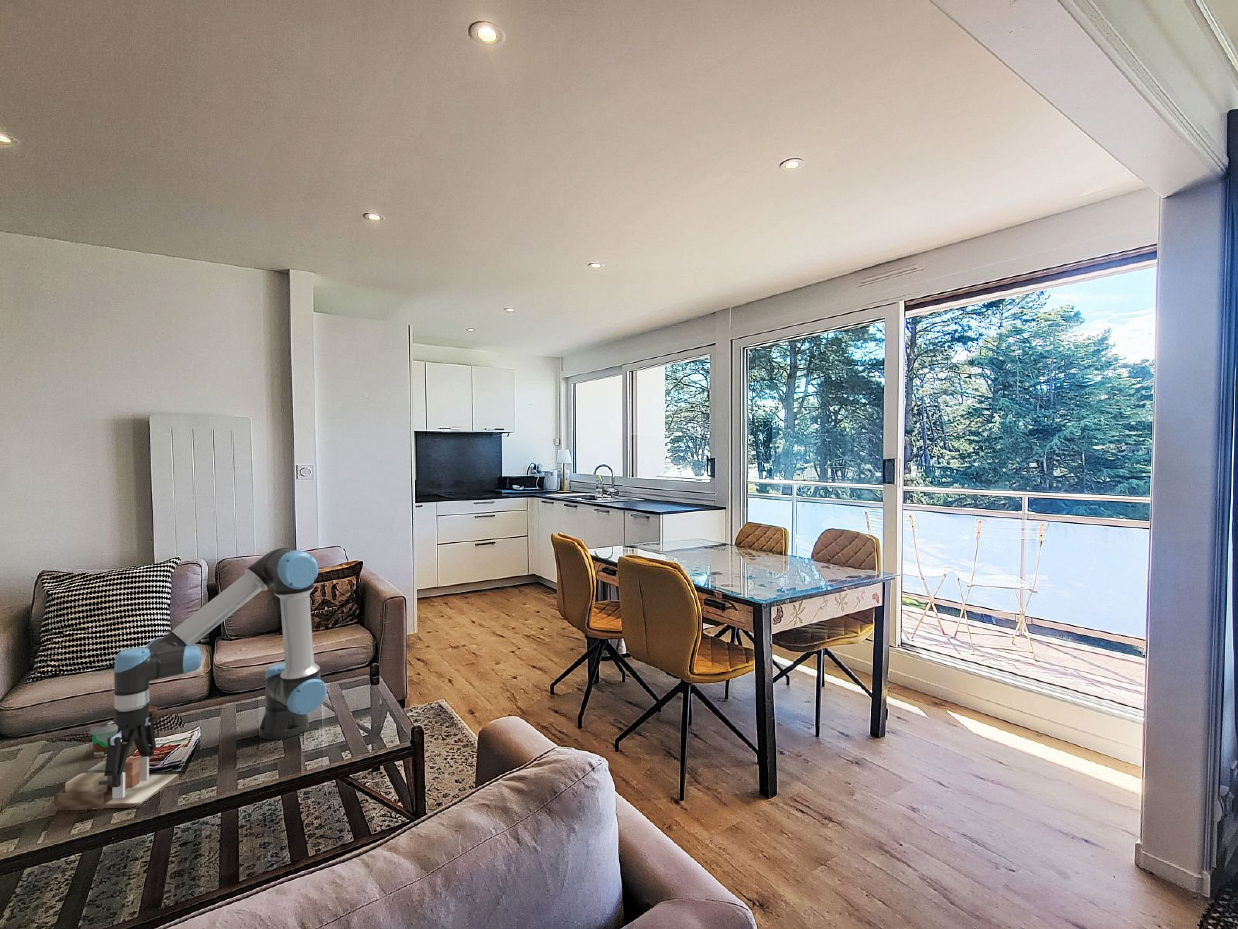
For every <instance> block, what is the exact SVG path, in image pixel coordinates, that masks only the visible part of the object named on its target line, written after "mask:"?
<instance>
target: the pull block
mask: <svg viewBox="0 0 1238 929" xmlns="http://www.w3.org/2000/svg"><path fill="white" fill-rule="evenodd" d="M139 763H140V758H138V757H137V758H136V757H131V758H128V759H126V762H125V765H124V769H123V772H125V788H133V787H135V786H136V785H137V784H139ZM107 785H112V780H107V776H104V773H88V772H81V773H79V774H77V775H76V776H74V777H72V778H70V779H69V780H68V781H66V782H65V783H64V786H65V787H64V788H65V793H67V792H106V791H107Z"/></svg>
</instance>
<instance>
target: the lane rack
mask: <svg viewBox="0 0 1238 929" xmlns="http://www.w3.org/2000/svg"><path fill="white" fill-rule="evenodd" d="M105 766H106V760H104V761H100V762H99V763H97V764H95V765H94V766H93V767H91V768H89V769H88V770H87V773H105ZM179 779H180V773H164V774H163V773H159V774H158V773H157V774H149V780H147V781H139V784H137V785H136V786H135V787H133V788H125V797H123V798H112V785H107V791H106V792H67V793H65V787H64V788H63V789H61V790H60V791H58V792H56V793H55V794H53V810H54V811H87V809H91V810H93V809H92V808H101V809H100V810H104V809H103V808H107V807H108V808H127V807H134V806H137V805H140V804H142V803H143V802H144V801H147V800H148V799H149V798H150V797H152V796H153V795H155V794H157V793H158V792H159V791H161V790H163V789H164V788H165V787H167V786H168V785H169V784H171V783H172V784H173V783H175V782H176V781H177V780H179ZM107 780H112V776H107ZM172 784H171V785H172ZM169 786H170V785H169ZM169 786H168V787H169ZM168 787H167V788H168ZM165 789H166V788H165ZM165 789H164V790H165ZM164 790H163V791H164ZM161 792H162V791H161ZM157 795H158V794H157Z"/></svg>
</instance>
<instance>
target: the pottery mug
mask: <svg viewBox="0 0 1238 929" xmlns="http://www.w3.org/2000/svg"><path fill="white" fill-rule="evenodd" d="M158 709H159V707H157V706H154V705H153V706H152V705H149V716H148V717H154V723H155V722H156V721H158V718H159V710H158Z"/></svg>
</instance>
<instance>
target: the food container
mask: <svg viewBox="0 0 1238 929" xmlns="http://www.w3.org/2000/svg"><path fill="white" fill-rule="evenodd" d="M117 730H118V726H117V725H116V724H114V719H113V720H110V721H107V722H106V723H104V724H102V725H100V726H91V728H90V730H89V735H91V738H92V739H91V740H92V748H93V756H101V755H105V754H107V751H108V742H107V740H108V738H109V737H114V736H115V735H116V734H117ZM122 743H123V744H125V743H128V742H122Z"/></svg>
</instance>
